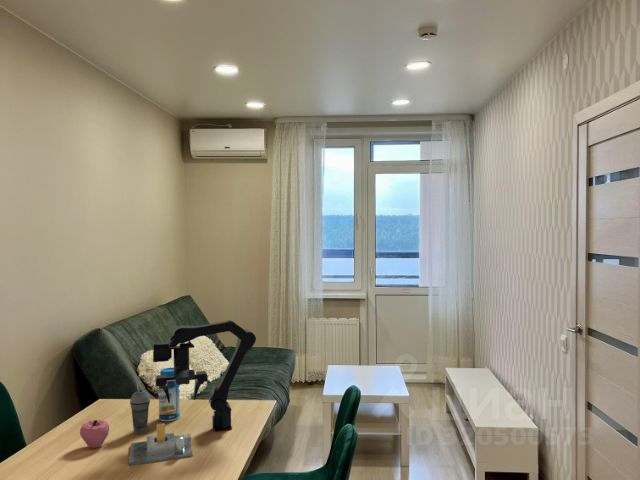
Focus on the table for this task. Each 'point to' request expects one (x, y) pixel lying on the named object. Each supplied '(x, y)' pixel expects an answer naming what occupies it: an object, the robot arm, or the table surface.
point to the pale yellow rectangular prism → (161, 432)
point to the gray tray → (160, 449)
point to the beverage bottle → (173, 408)
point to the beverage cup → (140, 410)
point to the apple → (94, 432)
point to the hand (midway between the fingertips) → (181, 401)
